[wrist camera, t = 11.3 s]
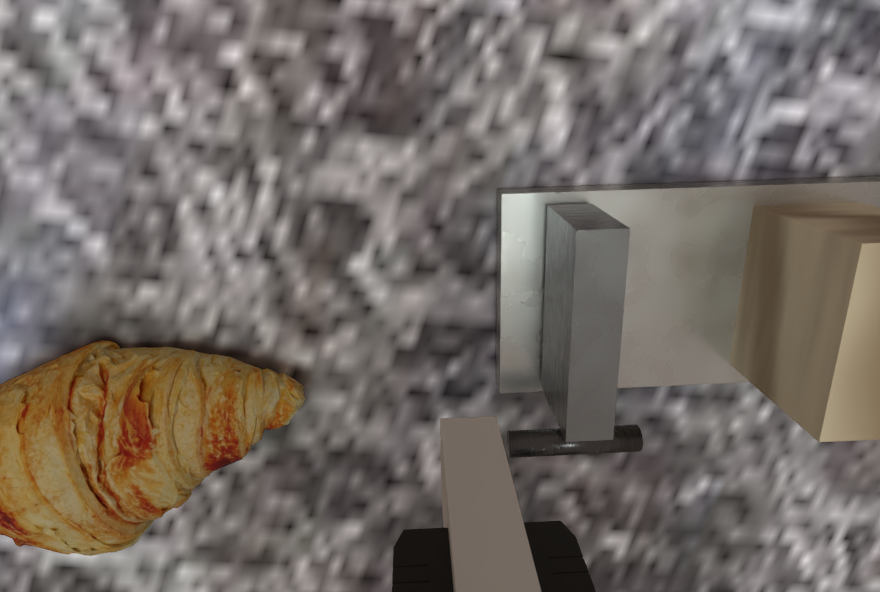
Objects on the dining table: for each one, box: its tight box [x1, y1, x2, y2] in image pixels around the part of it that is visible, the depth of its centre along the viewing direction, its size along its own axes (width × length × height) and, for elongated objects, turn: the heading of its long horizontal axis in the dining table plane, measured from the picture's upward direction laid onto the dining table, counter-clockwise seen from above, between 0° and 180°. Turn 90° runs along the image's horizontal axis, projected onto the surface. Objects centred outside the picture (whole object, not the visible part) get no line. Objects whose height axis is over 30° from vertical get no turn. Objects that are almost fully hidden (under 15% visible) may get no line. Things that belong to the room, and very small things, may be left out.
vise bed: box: [496, 176, 880, 393], centre depth 29 cm, size 24×10×2 cm, turn 91°
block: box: [730, 202, 880, 442], centre depth 26 cm, size 5×8×7 cm, turn 1°
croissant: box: [0, 341, 306, 556], centre depth 29 cm, size 21×10×8 cm, turn 105°
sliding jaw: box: [507, 203, 643, 458], centre depth 26 cm, size 6×11×5 cm, turn 1°
